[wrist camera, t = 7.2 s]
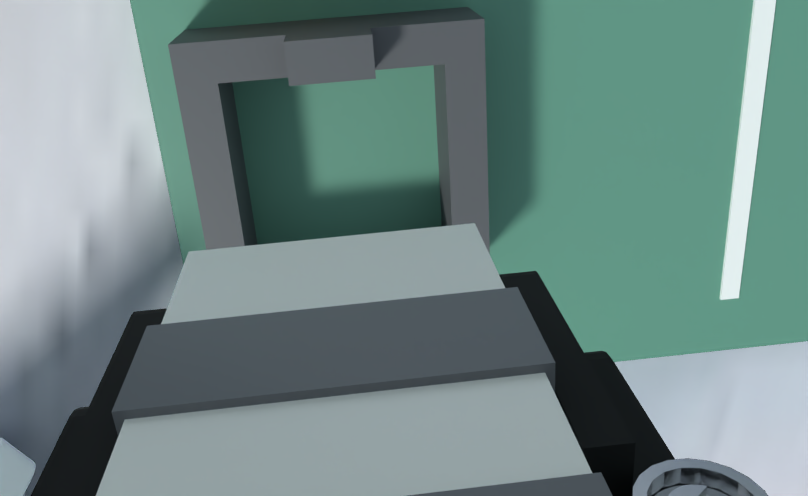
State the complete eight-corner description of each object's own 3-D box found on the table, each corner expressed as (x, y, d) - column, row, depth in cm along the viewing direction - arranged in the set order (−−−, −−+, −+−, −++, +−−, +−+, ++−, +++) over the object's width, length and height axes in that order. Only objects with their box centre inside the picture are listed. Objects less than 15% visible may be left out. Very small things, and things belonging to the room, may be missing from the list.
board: (843, 317, 27) (936, 392, 23) (216, 384, 26) (195, 475, 22) (942, -202, 21) (1097, -230, 17) (112, -146, 20) (54, -160, 15)
